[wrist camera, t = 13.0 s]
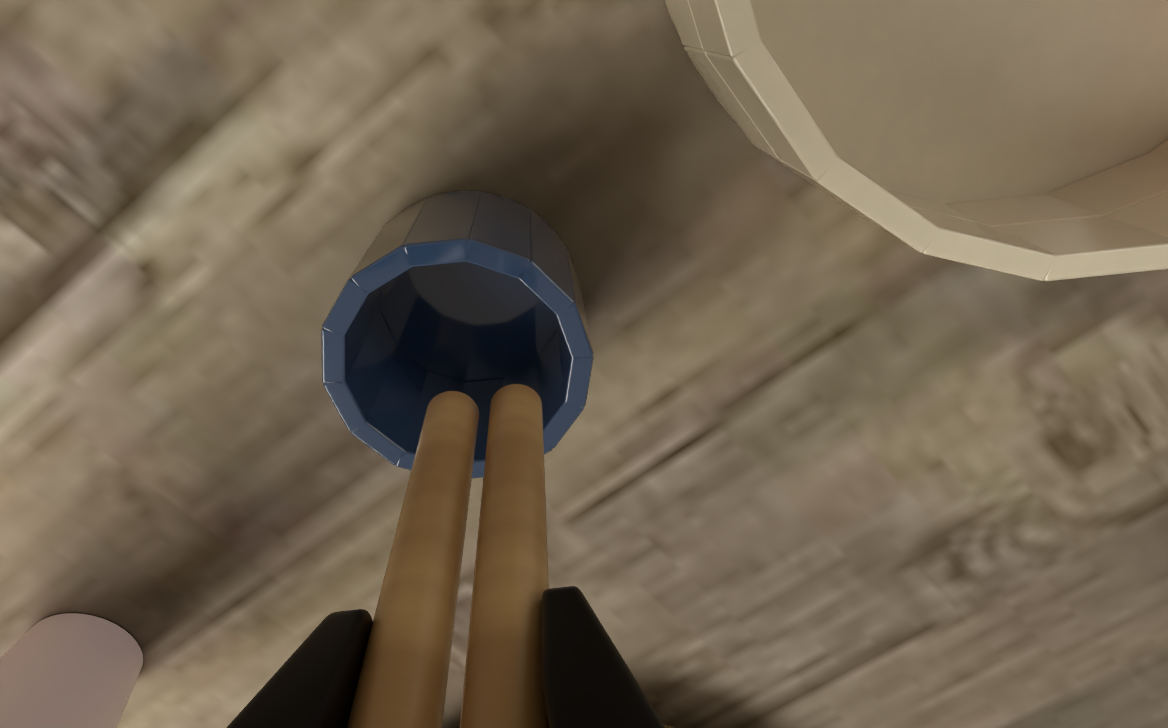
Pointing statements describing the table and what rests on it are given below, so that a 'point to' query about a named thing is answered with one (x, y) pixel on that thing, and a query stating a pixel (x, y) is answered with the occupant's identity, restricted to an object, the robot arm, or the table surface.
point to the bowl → (960, 119)
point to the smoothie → (68, 674)
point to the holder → (456, 322)
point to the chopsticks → (432, 571)
